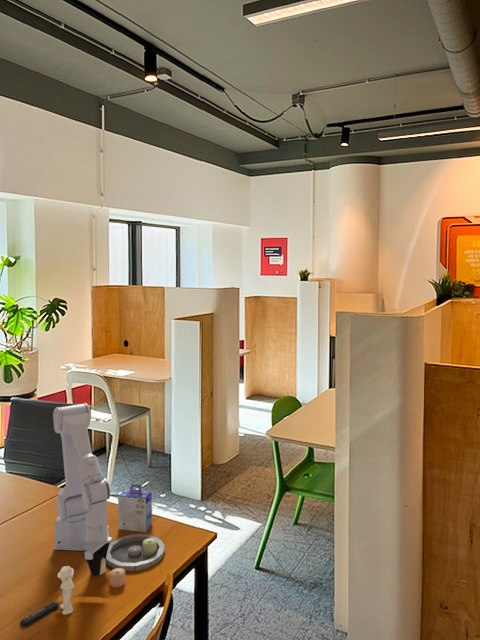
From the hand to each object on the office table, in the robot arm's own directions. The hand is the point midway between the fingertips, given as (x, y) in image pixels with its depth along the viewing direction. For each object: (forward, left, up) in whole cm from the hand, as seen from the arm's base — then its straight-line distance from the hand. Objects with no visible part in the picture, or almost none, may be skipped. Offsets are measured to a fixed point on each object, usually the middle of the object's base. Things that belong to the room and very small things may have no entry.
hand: (98, 569), depth 148 cm
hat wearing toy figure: (-3, -15, -2) cm, 15 cm away
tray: (+8, +9, -1) cm, 12 cm away
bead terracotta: (+7, -5, -2) cm, 9 cm away
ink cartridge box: (+4, +25, -2) cm, 25 cm away
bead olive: (+12, +9, 0) cm, 15 cm away
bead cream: (0, 0, -2) cm, 2 cm away
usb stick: (-9, -18, -2) cm, 20 cm away
